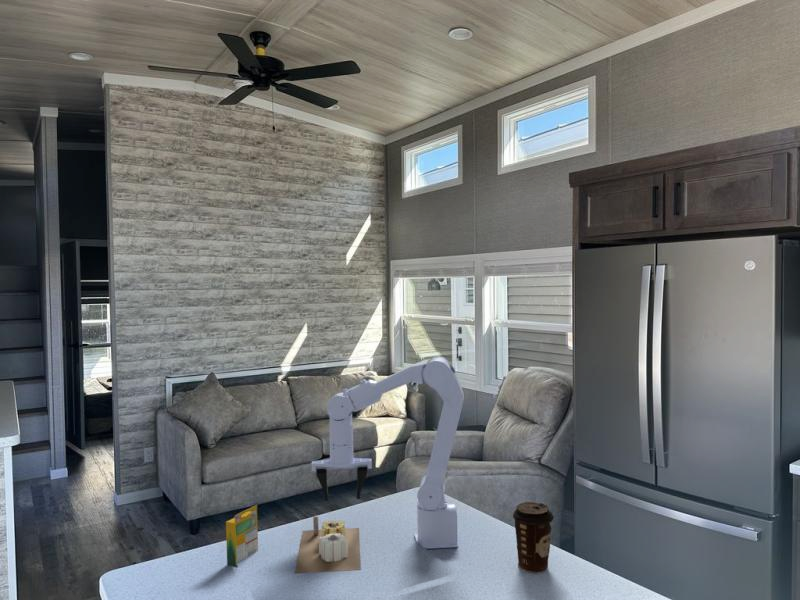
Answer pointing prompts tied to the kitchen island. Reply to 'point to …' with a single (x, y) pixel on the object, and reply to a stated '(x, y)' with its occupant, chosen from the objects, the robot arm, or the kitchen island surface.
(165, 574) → the kitchen island surface
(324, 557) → the nylon gear
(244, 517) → the crayon box
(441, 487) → the robot arm
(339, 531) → the brass gear
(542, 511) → the coffee cup
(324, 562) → the gear board
